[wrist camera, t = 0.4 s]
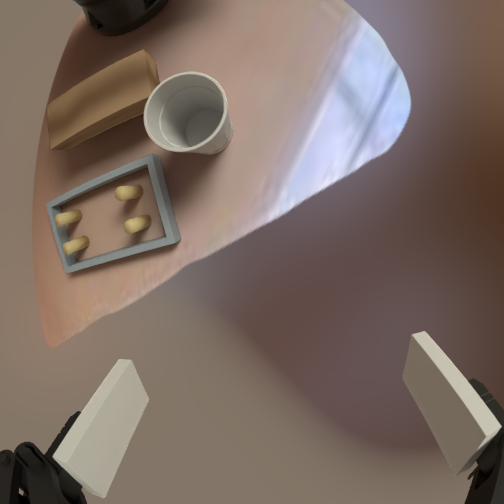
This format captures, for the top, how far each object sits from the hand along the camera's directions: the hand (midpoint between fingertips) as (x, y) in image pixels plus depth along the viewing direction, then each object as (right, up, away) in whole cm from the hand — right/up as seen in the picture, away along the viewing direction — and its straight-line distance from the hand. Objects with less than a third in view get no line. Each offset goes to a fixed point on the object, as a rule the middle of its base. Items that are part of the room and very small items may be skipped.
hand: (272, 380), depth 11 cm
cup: (-6, +21, +22) cm, 32 cm away
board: (-20, +25, +17) cm, 37 cm away
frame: (-22, +11, +25) cm, 36 cm away
